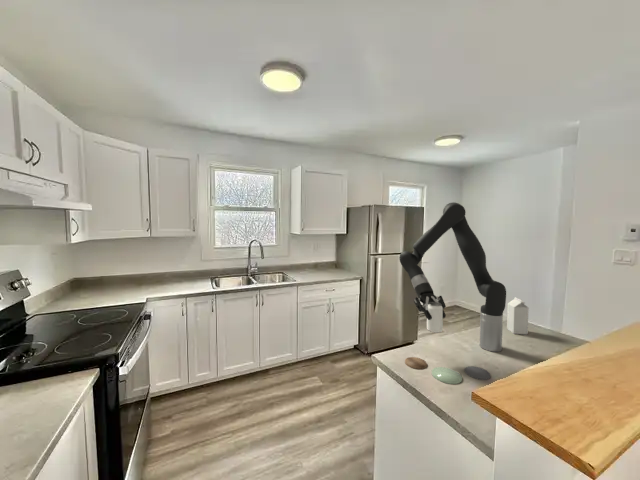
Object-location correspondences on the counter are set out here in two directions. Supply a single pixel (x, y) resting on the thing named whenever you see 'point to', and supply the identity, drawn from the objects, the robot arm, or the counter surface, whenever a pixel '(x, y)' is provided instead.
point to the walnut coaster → (415, 363)
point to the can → (435, 317)
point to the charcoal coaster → (477, 372)
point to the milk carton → (517, 317)
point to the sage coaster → (446, 375)
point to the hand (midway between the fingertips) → (437, 318)
